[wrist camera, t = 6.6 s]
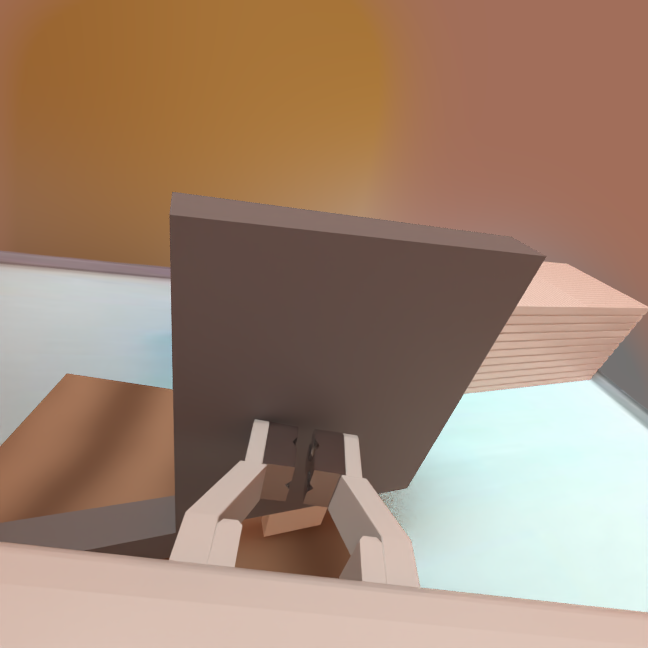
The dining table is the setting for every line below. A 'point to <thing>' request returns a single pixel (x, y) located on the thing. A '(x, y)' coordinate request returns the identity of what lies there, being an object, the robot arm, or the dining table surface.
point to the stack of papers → (558, 331)
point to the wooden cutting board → (129, 469)
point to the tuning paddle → (307, 352)
